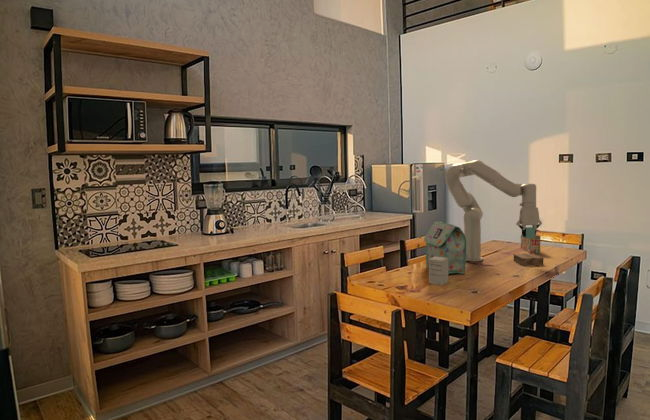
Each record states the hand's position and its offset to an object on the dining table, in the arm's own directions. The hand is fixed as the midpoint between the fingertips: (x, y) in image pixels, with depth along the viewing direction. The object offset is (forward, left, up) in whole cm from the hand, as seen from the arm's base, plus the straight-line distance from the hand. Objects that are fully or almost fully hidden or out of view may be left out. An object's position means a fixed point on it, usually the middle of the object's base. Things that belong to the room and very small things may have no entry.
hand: (528, 236), depth 266 cm
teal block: (0, 0, -1) cm, 1 cm away
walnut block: (0, 0, -16) cm, 16 cm away
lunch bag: (-52, -13, -16) cm, 56 cm away
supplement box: (-62, -39, -16) cm, 75 cm away
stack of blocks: (+17, +36, -16) cm, 43 cm away
